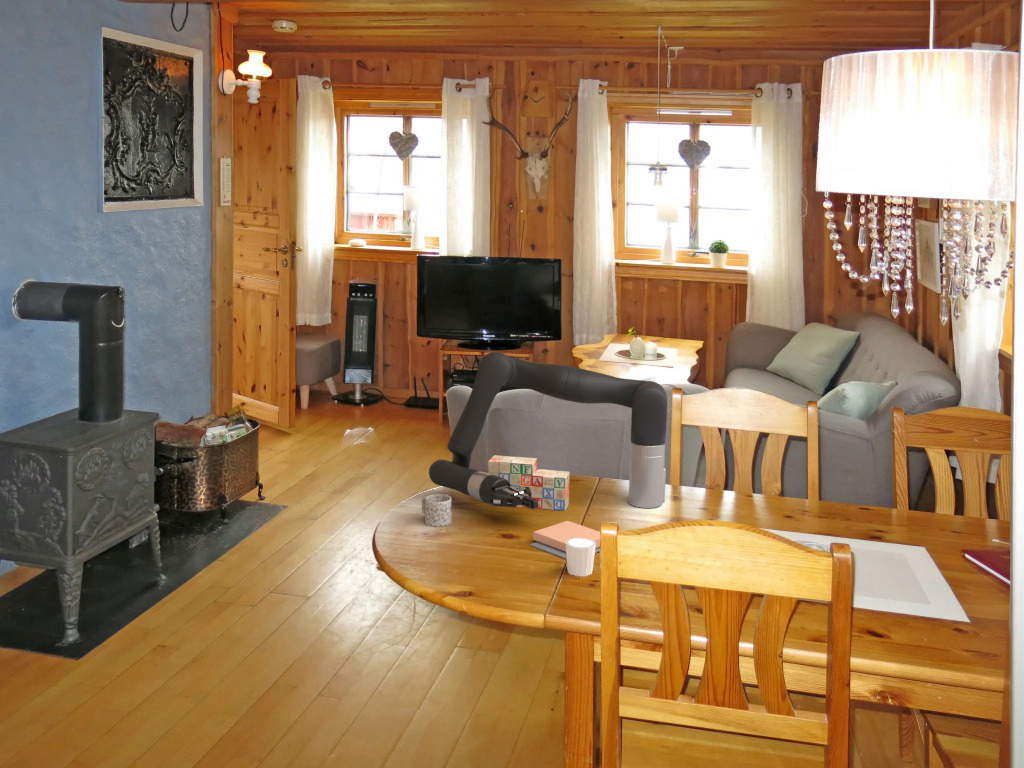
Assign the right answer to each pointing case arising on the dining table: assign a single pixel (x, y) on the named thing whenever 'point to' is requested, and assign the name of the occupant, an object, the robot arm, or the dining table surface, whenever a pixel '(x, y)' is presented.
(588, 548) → the white cup
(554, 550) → the mat
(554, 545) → the tile
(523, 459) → the stack of blocks
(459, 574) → the dining table surface
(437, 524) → the mug
